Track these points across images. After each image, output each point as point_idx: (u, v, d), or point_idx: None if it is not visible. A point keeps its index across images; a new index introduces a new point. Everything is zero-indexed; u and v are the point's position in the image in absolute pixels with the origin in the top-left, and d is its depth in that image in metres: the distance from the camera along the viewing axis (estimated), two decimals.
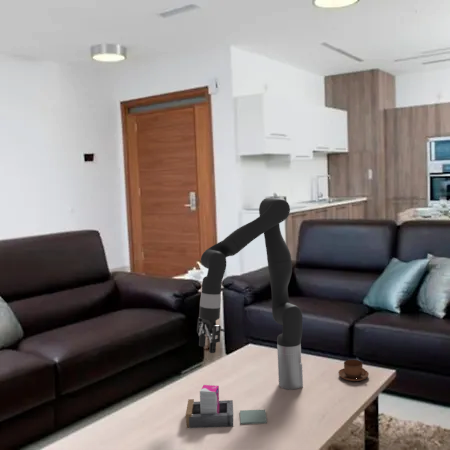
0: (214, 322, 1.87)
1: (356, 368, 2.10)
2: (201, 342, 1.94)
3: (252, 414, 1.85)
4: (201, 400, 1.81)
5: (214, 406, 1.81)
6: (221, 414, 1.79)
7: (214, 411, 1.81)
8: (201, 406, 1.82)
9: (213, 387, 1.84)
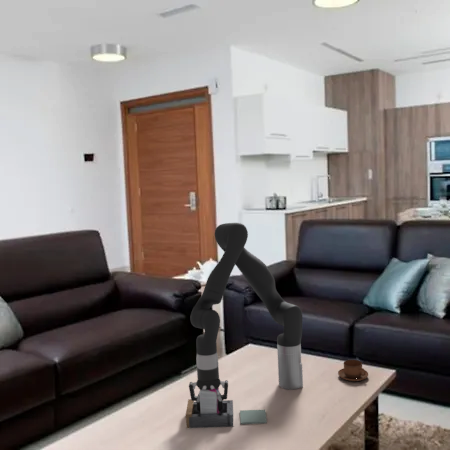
0: (219, 379, 1.83)
1: (356, 368, 2.10)
2: None
3: (252, 414, 1.85)
4: (201, 400, 1.81)
5: (214, 406, 1.81)
6: (221, 414, 1.79)
7: (214, 411, 1.81)
8: (201, 406, 1.82)
9: None
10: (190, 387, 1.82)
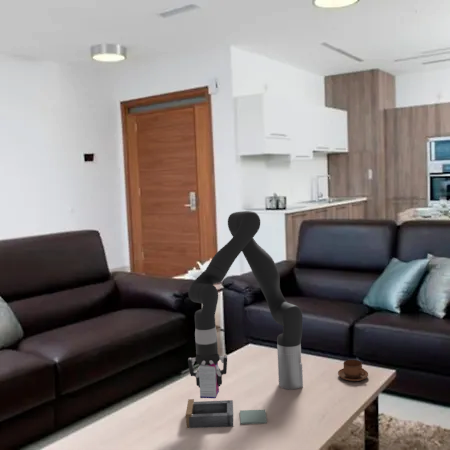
0: (218, 354, 1.82)
1: (356, 368, 2.10)
2: None
3: (252, 414, 1.85)
4: (200, 375, 1.80)
5: (213, 381, 1.80)
6: (221, 414, 1.79)
7: (213, 386, 1.80)
8: (200, 381, 1.81)
9: None
10: (189, 362, 1.81)
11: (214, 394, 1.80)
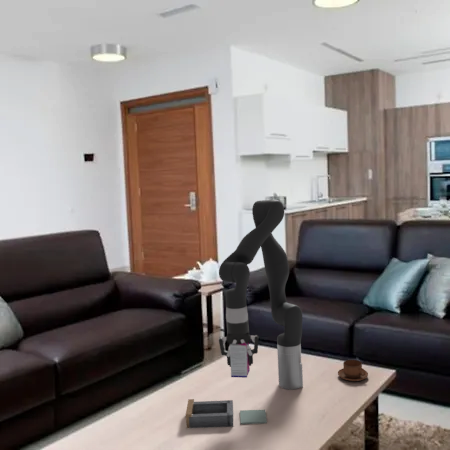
0: None
1: (355, 368, 2.10)
2: None
3: (252, 414, 1.85)
4: (231, 354, 1.80)
5: (244, 360, 1.79)
6: (221, 414, 1.79)
7: (245, 365, 1.79)
8: (231, 360, 1.80)
9: None
10: (220, 341, 1.81)
11: (245, 373, 1.80)
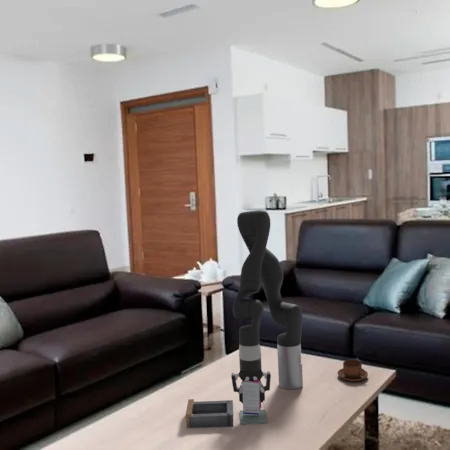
0: (261, 370, 1.83)
1: (355, 368, 2.10)
2: None
3: (252, 414, 1.85)
4: (244, 391, 1.81)
5: (257, 397, 1.80)
6: (221, 414, 1.79)
7: (257, 402, 1.80)
8: (244, 397, 1.81)
9: None
10: (233, 378, 1.82)
11: (257, 410, 1.81)
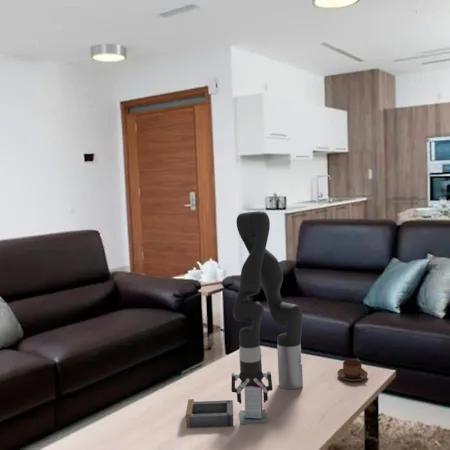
0: (261, 371, 1.83)
1: (355, 368, 2.10)
2: None
3: None
4: (246, 396, 1.81)
5: (259, 402, 1.81)
6: (221, 414, 1.79)
7: (259, 407, 1.81)
8: (246, 402, 1.81)
9: None
10: (233, 378, 1.82)
11: (259, 415, 1.81)
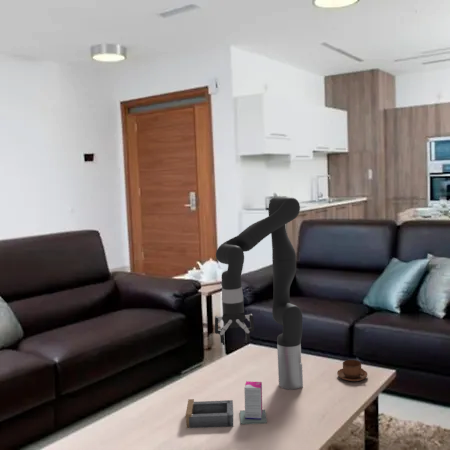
0: (243, 313, 1.89)
1: (355, 368, 2.10)
2: None
3: None
4: (246, 396, 1.81)
5: (259, 402, 1.81)
6: (221, 414, 1.79)
7: (259, 407, 1.81)
8: (246, 402, 1.81)
9: (257, 383, 1.84)
10: (216, 320, 1.88)
11: (259, 415, 1.81)
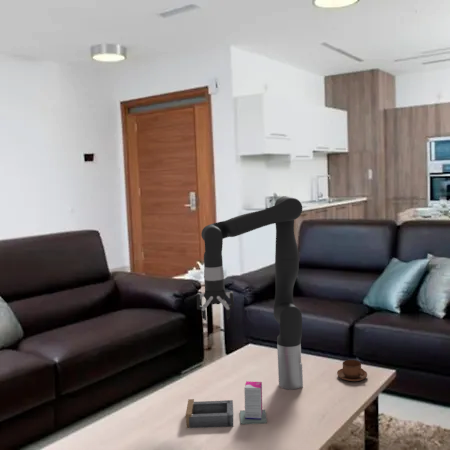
0: (224, 291, 2.00)
1: (355, 368, 2.10)
2: (205, 316, 2.01)
3: None
4: (246, 396, 1.81)
5: (259, 402, 1.81)
6: (221, 414, 1.79)
7: (259, 407, 1.81)
8: (246, 402, 1.81)
9: (257, 383, 1.84)
10: (198, 296, 1.99)
11: (259, 415, 1.81)
